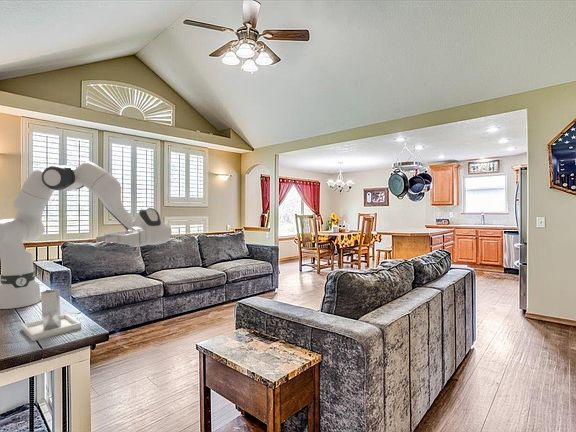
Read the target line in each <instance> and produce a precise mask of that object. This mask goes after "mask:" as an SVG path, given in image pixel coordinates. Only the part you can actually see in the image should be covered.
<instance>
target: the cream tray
mask: <svg viewBox="0 0 576 432" xmlns="http://www.w3.org/2000/svg"><path fill="white" fill-rule="evenodd" d="M20 326H21V331H22V333H24V334H25V335H26V336H27V337H28V338H29V340H30V341H32V342H35V341H39V340H44V339H47V338H50V337H54V336H58V335H62V334H65V333H70V332H73V331H77V330H80V329H82V322H80V321H79V320H78V319H76V318H75V317H73V316H72V315H70V314H68V313H63V314H61V327H60V328H56V329H52V330H48V331H44V330H43V319H38V320H33V321H30V322H25V323H21V324H20Z"/></svg>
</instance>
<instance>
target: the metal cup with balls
mask: <svg viewBox="0 0 576 432" xmlns="http://www.w3.org/2000/svg"><path fill="white" fill-rule="evenodd" d="M40 296H41V301H40V303H41V315H42V319H43V330H44V331H48V330H52V329H56V328H60V327H61V315H62V314H61V301H60V300H61V299H60V298H61V297H60V289H54V288H52V289H46V290H43V291H42V292H41V291H40ZM42 319H41V320H42Z"/></svg>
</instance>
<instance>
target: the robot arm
mask: <svg viewBox="0 0 576 432" xmlns="http://www.w3.org/2000/svg"><path fill="white" fill-rule="evenodd" d="M84 187H85V188H87V189H88V190H89V191H91V192H92V194H94V195H95V196H96V197H97V198H98V199H99V200H100V201H101V203H102V204H103V206H104V208H105V209H106V211H107V212H108V213H110V215H111V216H112V217H114V218H115V220H117V221H118V222H119V223H120V225H122V226H123V227H124V229H125V232H123V231H119V232H106V233H104V234H103V235H100V236H95V241H96V242H102V241H103V242H105V243H107V244H108V243H112V244H114V243H115V244H121V245H128V246H129V247H130V248H139V247H144V246H147V245H149V246H155V245H161V244H166V243H168V242H169V241H170V239H171V238H172V237H171V236H172V227H171V226H170V225H168V224H167V223H165V222H164V221H163V220H162V218H161V216H160V214H159V212H158V211H157V210H156V209H155V208H153V207H148V206H147V207H146V206H145V207H142V208H141V209H139V211H138V213H137V214H136V216H135V217H134V216H133V215H132V214H131V213H129V211H128V210H127V209H126V208H125V207H124V206H123V203H122V202H123V201H122V187H121V184H120V181H118V179H117V178H116V177H115V176H114V175H112V174H110V173H109V172H108V171H107V170H105V169H104V168H102V167H101V166H99V165H97V164H96V163H94V162H91V161H86V162H82V163H81V164H79V165H78V166H71V165H57V164H56V165H51V166H48V167H47V168H45V169H41V168H40V169H39V168H38V169H34V170H33V171H32V172H31V173H30V174H29V176H28V177H27V178H26V179H25V181H24V182H23V184H22V186H21V187H20V189H19V191H18V192H17V194H16V197H15V199H14V201H13V207H14V208H15V209H16V215H15V217H13V218H1V219H0V267H1V269H0V270H1V275H0V310H8V309H9V310H10V309H17V308H23V307H24V308H25V307H28V306H31V305H35V304H37V303H39V302H41V289H40V288H41V287H40V283H39V282H38V281H37V280H35V279H36V272H35V271H34V256H33V254H32V253H31V252H29V251H27V249H26V247H25V245H24V243H25V242H31V241H34V240H36V239H39V238H40V237H43V234H45V233H44V232H45V225H44V223H43V222H42V216H43V213H44V210H45V209H46V207H47V205H48V202H49V201H50V199H51V196H52V194H53V193H54V191H73V190H80V189H83V188H84Z"/></svg>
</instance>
